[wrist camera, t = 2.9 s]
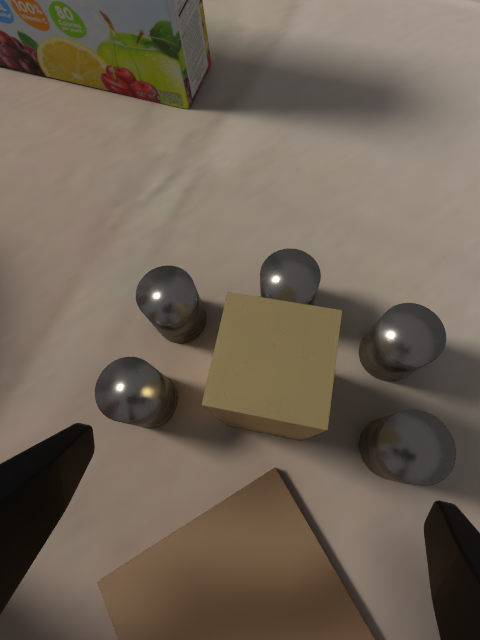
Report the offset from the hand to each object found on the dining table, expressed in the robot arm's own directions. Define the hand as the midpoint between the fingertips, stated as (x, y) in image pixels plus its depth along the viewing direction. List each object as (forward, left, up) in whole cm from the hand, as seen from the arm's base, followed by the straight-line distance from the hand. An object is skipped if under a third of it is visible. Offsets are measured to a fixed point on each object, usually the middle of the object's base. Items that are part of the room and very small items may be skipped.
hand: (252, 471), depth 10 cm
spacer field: (+4, -4, -11) cm, 12 cm away
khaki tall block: (+3, -2, -11) cm, 11 cm away
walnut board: (-6, +4, -11) cm, 13 cm away
